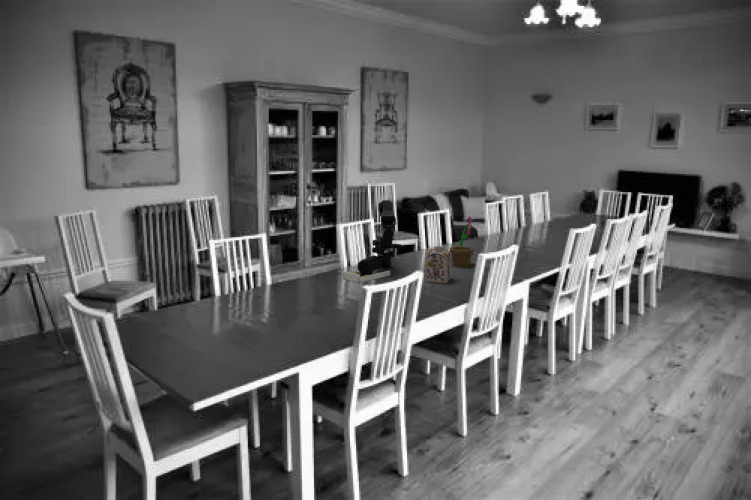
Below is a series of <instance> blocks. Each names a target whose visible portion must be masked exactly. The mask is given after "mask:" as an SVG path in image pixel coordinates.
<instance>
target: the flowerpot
mask: <svg viewBox="0 0 751 500" xmlns="http://www.w3.org/2000/svg"><path fill="white" fill-rule="evenodd" d="M472 220H473V219H472V216H470V215H468V219H467V223H466V226H465V228H464V230H463V231H462V233H461V238H460V241H459V242H458V245H455V246H454V245H453V246H450V247H449V251H450V253H451V265H452V267H454V268H460V269H461V268H464V269H465V268H470V265H471V261H472V260H471V259H472V254H474V251H475V250H474V248H473V247H470V246H464V245H463V243H464V242H463V241H464V240H467V238H469V237H470V236H471V230H472V228H473V226H472ZM465 232H466V233H465Z"/></svg>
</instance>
